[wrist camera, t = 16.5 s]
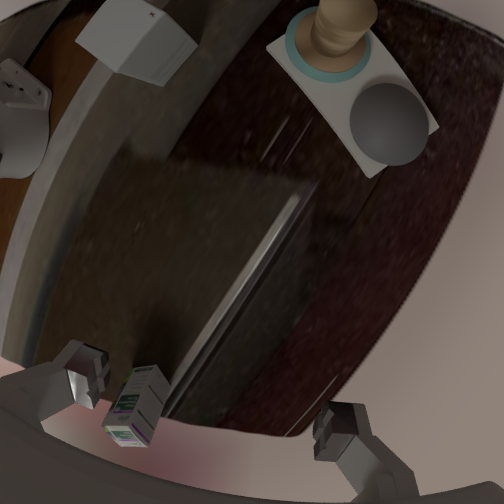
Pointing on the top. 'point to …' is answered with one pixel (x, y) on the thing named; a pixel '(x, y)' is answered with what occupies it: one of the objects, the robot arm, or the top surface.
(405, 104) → the double oval pad board
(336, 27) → the brown cylinder round base
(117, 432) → the syrup box
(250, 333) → the top surface
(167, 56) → the supplement box
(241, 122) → the top surface
